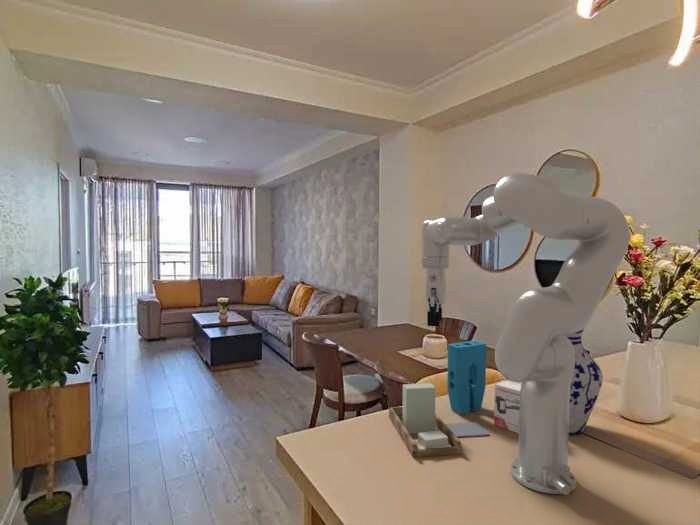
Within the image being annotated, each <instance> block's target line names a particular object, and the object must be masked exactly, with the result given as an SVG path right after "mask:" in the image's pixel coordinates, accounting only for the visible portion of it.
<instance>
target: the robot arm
mask: <svg viewBox="0 0 700 525" xmlns="http://www.w3.org/2000/svg"><path fill="white" fill-rule="evenodd" d="M517 225H522V226H524V227H525V228H527V229H530V230H531V231H533V232H535V233H537V234H539V235H540V236H543V237H544V238H547V239H548V238H549V239H551V240H561V241H562V240H564V241H566V240H567V241H579V243H578V244H577V246H576V248H575V249H574V250H573V251H572V252H571V253H570V254H569V255H568V257H567V258H566V259H565V261H564V262H563V263H562V266H561V268H560V270H559V273H558V275H557V276H556V277H555V280H554V281H553V283H552V284H551V285H550V286H546V287H537V288H532V289H529V290H526V291H525V292H524V293H523V294H521V295H520V296H519V298H517V299H516V301H515V302H514V304H513V306H512V308H511V310H510V312H509V315H508V317H507V319H506V321H505V324H504V326H503V329H502V330H501V333H500V335H499V338H498V339H497V343H496V345H495V350H494V362H495V366H496V369H497V371H498V372H499V373H500V375H501V376H502V377H504V378H505V379H506V380H508V381H509V382H513V383H521V390H520V411H519V433H518V459H515V460H514V461H513V462H511V465H510V474H511V475H512V477H513V478H514V480H516V481H517V482H518V483H519V484H521V485H523V486H524V487H526V488H529V489H531V490H534V491H536V492H540V493H544V494H550V495H551V494H552V495H564V496H567V495H569V494H570V492H573V491H574V490H575V489H576V488H577V486H578V484H577V479H576V476H575V475H574V474H573V473H572V471H571V468H570V466H568V465H569V464H568V463H569V436H570V435H569V403H570V387H571V381H572V376H573V372H574V367H575V350H574V347H573V345H572V343H571V341H570V340H569V339H568V338H567V337H566V336H565V335H567V334H572V333H576V332H578V331H581V330H582V329H584V330H585V328H586V327H587V325H588V324H589V322H591V318H592V316H593V315H594V313H595V311H596V310H597V308H598V305H599V303H600V302H601V300H602V298H603V297H604V296H603V295H604V294H605V292H606V291H607V288H608V286H609V284H610V282H611V280H612V278H613V276H614V275H615V274H616V271H617V270H618V268H619V266H621V263H622V261H623V259H624V257H625V255H626V253H627V250H628V248H629V243H630V238H631V237H630V236H631V234H630V233H631V232H630V225H629V222H628V220H627V218H626V215H625V214H624V213H623V212H622V210H621V209H620V208H618V206H617V205H615V204H614V203H612V202H610V201H608V200H606V199H604V198H600V197H597V196H590V195H583V194H582V195H580V194H571V193H563V192H561V190H560V187H559V186H558V184H557V182H555V181H554V180H553V179H551V178H550V177H547V176H544V175H538V174H532V173H523V172H514V173H510V174H506V175H505V176H504V177H502V178H501V179H500V180H498V182H497V184H496V185H495V186H494V189H493V193H492V195H491V196H489V197H487V198H486V199H485V200H484V201H483V203H482V206H481V214H480V215H478V216H475V217H461V216H457V217H456V216H443V217H440V218H438V219H428V220H424V221H423V222H422V225H421V269H425V297H426V298H425V299H426V300H425V301H426V303H427V304H428V305H427V311H426V312H427V320H426V321H427V323H426V324H427V326H428V327H439V326H440V322H441V321H442V319H443V307H442V305H444V304H445V303H446V302H447V299H446V298H447V297H446V296H447V294H446V287H447V286H446V277H447V276H446V269H450V268H449V267H450V263H449V262H450V260H449V259H450V258H449V257H450V246H475V245H476V246H477V245H479V244H483V243H485V242H488V241H491V240H493V239H494V240H495V239H496V238H497V237H499V236H500V235H501V234H502V233H503V232H504V231H505V230H506V229H507V230H508V229H509V228H512V227H515V226H517Z"/></svg>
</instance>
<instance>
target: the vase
mask: <svg viewBox="0 0 700 525" xmlns="http://www.w3.org/2000/svg"><path fill="white" fill-rule="evenodd" d="M584 330H585V328H584V329H582V330H581V331H578V332H576V333H572V334H567V335H565V336H566V337H567V338H568V339H569V340H570V341H571V343H572V345H573V347H574V350H575V367H574V372H573V376H572V381H571V387H570V403H569V436H571V435H572V436H574V435H575V436H576V435H580V434H583V432H584V431H585V428H586V425H587V423H588V421H589V419H590V416H591V414H592V412H593V409H594V406H595V405H596V402H597V401H598V397H599V394H600V391H601V389H602V385H603V378H604V376H603V372H602V370H601V368H600V365H599V364H598V363H597V362H596V360H594V358H593V357H592V356H591V355H590V354H589V353H588V351H587V350H586V349H585V347H584V346H583V343H582V334H583V332H584Z"/></svg>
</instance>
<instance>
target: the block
mask: <svg viewBox="0 0 700 525" xmlns="http://www.w3.org/2000/svg"><path fill="white" fill-rule="evenodd" d="M486 368H487V343H486V342H483V341H479V340H469V341H461V342H456V343H455V342H453V343H448V344H447V373H446V374H447V379H446V381H447V382H446V383H447V384H446V385H447V388H446V389H447V394H448V399H449V404H450V409H451V410H452V411H453V412H456V413H457V414H459V415H465V414H469V413H470V412H471V410H472V411H474V412H478V411H480V410H482V406H483V400H484V396H485V390H486V377H487V376H486V375H487V374H486V373H487V371H486V370H487V369H486Z"/></svg>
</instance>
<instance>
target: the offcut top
mask: <svg viewBox="0 0 700 525" xmlns="http://www.w3.org/2000/svg"><path fill="white" fill-rule="evenodd" d="M417 439H418V442H419V443H420V444H421V445H422V446H423V447H424V448H425V449H427V448H434V447H441V446H448V437H447V436H446V435H445V434H444V433H442V432H441V431H440V430H435V431H430V432H423V433H417Z"/></svg>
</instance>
